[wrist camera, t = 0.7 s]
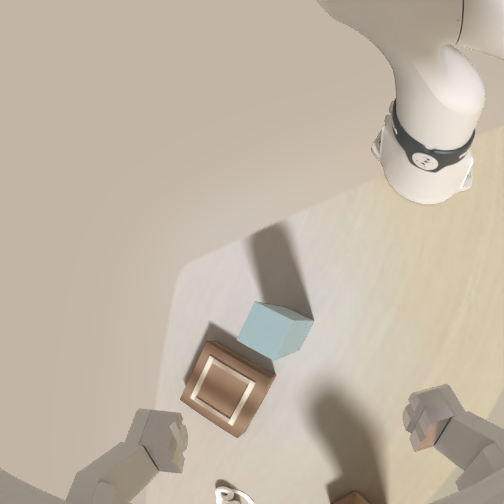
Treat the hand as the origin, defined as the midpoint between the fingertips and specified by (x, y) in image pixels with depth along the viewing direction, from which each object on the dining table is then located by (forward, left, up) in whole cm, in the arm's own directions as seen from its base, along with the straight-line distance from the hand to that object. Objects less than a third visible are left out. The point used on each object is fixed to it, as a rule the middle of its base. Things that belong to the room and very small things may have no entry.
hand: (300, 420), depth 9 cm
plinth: (+16, -14, -36) cm, 42 cm away
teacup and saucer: (+35, -2, -37) cm, 51 cm away
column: (+2, -9, -36) cm, 37 cm away
